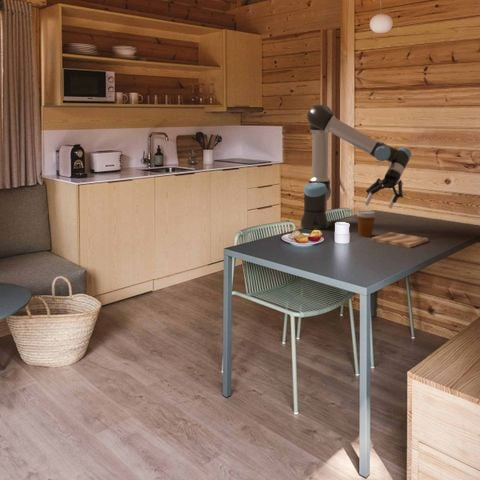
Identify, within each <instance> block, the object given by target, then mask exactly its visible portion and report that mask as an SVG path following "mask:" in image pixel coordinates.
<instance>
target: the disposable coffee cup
mask: <svg viewBox="0 0 480 480" xmlns="http://www.w3.org/2000/svg"><path fill="white" fill-rule="evenodd" d="M356 217H357V227H358V229H357V230H358V236H359V237H366V238H367V237H372V234H373V231H374V230H373V229H374V223H375V218H376V217H377V214H376V211H373V210H358V211H357V213H356Z"/></svg>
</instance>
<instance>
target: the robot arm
mask: <svg viewBox="0 0 480 480" xmlns="http://www.w3.org/2000/svg"><path fill="white" fill-rule="evenodd" d="M306 117H307V121H308V123H309V132H311V133H312V145H311V147H312V150H311V151H312V152H311V153H312V156H311V157H312V158H311V177H310V178H309V179H308V183H307V184H305V185H304V189H303V193H304V195H303V200H304V201H303V206H304V207H303V214H302V218H301V221H300V227H301V228H303V229H307V230H315V229H314V228H317V229H316V230H325V229H328V228H329V219H328V216H327V213H326V211H327V210H326V209H327V201H328V200H329V199H330V197H331V195H332V190H331V179H330V178H329V177H328V169H329V168H328V167H329V166H328V165H329V164H328V162H329V161H328V159H329V133H331V134H333V135H335V136H337V137H338V138H340V139H341V140H343V141H346V142H347V143H348V144H350V145H352V146H354V147H355V148H358V149H359V150H361V151H363V152H365V153H366V154H368V155H370V156H371V157H374V159H376V160H377V161H379V162H384V161H387V162H389V163H390V165H389V167H388V168H387V171H386V173H385V175H384V178H383V179H381V178H377V180H376V181H375V182H373V184H372V185H370V186H369V187H368V188H367V189H366V190H365V192H366V194H367V195H366V196H365V197H366V199H365V200H364V201H365V202H364V204H365V205H366V206H367V207H368V206H369V205H370V202H371V201H372V199H373V197H374V195H375V194H376V193H378V192H379V191H382V190H384V189H392V191H393V193H394V194H393V195H392V197H391V199H390V200H389V203H388V208H389V209H392V208H393V206H394V204H396V203H397V201H398V199H399V198H401V199H402V198H403V197H404V196H403V185H404V183H403V181H402V180H401V176H402V175H403V173H404V171H405V169H406V168H407V165H408V163H409V161H410V160H411V159H410V158H411V157H412V151H411V150H410V149H409V148H407V147H404V146H403V147H399V148H398V149H397V148H394V147H393V146H390V145H388V144H386V143H384V142H381V141H377V140H375V138H374V139H373V138H372V137H370V136H368V135H367V134H365V133H363V132H361V131H359V129H355V128H354V127H353V126H350V125H349V124H347V123H345V122H343V121H342V120H339V119H338V118H336V116H335V114H333V111H332V109H331V108H330V107H329V106H327V105H325V104H316V105H313V106H311V107H310V108H309V109H308V110H307V114H306ZM396 186H397V188H398V192H397V189H396V188H395V187H396Z"/></svg>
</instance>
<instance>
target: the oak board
mask: <svg viewBox="0 0 480 480" xmlns="http://www.w3.org/2000/svg"><path fill="white" fill-rule="evenodd" d="M370 241H371V242H375V243H380V244H385V245H392V246H397V247H402V248H403V247H404V248H407V249H408V248H412V247H416V246H417V245H420V244H424V243H427V242H428V241H429V238H428V237H423V236H416V235H411V234H405V233H404V234H403V233H397V232H386V233H384V234H381V235H380V234H379V235H377V236H373V237H371V239H370Z"/></svg>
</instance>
